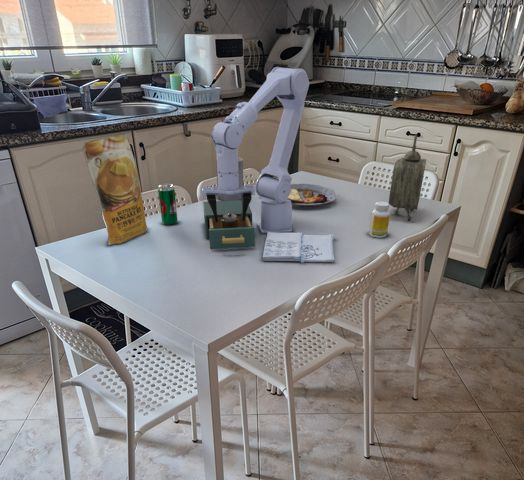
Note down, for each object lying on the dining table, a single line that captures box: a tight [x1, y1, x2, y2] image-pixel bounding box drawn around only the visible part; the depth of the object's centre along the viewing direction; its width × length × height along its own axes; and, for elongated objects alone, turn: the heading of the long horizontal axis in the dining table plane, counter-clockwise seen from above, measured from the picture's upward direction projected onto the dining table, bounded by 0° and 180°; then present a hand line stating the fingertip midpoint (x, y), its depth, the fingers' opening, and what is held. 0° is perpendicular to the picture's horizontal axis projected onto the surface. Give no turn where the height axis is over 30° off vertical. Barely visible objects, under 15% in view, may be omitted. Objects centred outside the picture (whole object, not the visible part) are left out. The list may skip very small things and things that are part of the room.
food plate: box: [287, 183, 338, 207], centre depth 176 cm, size 25×23×4 cm
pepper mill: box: [222, 213, 238, 228], centre depth 139 cm, size 5×5×7 cm
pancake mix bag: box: [82, 133, 148, 246], centre depth 139 cm, size 7×19×28 cm, turn 149°
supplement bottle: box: [368, 201, 391, 239], centre depth 145 cm, size 5×5×10 cm
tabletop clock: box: [388, 134, 427, 222], centre depth 155 cm, size 14×9×25 cm, turn 161°
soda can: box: [157, 183, 179, 226], centre depth 153 cm, size 5×5×12 cm
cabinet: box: [202, 199, 253, 240], centre depth 149 cm, size 13×14×7 cm
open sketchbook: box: [262, 232, 336, 264], centre depth 137 cm, size 19×20×2 cm
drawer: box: [208, 216, 256, 250], centre depth 139 cm, size 16×13×6 cm
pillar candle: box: [215, 156, 244, 201], centre depth 175 cm, size 10×10×15 cm
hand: (229, 220), depth 138 cm, fingers open, 7 cm apart
